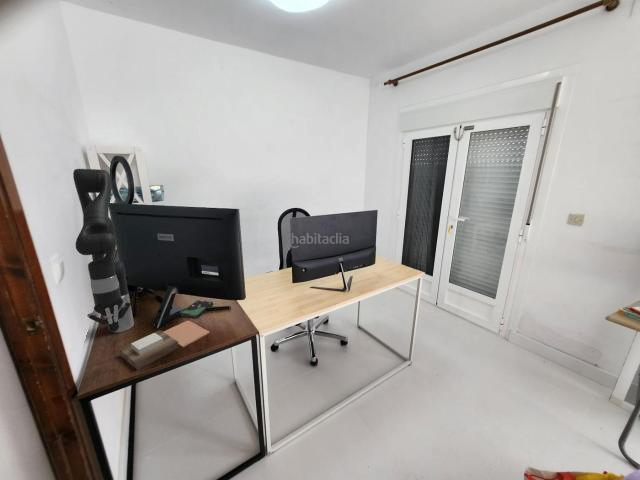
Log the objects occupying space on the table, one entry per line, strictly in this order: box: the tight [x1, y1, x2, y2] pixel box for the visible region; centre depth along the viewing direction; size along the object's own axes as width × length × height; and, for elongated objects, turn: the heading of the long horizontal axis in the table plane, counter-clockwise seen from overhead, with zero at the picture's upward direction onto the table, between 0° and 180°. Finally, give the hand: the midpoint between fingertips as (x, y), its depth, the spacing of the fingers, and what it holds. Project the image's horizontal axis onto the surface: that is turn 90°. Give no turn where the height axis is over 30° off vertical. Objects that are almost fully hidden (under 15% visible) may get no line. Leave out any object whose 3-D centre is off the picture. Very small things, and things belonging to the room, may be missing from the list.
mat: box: [163, 320, 211, 348], centre depth 120 cm, size 18×13×1 cm
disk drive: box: [180, 299, 214, 319], centre depth 141 cm, size 10×3×15 cm
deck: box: [119, 329, 180, 371], centre depth 107 cm, size 15×16×3 cm
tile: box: [130, 332, 163, 355], centre depth 106 cm, size 7×9×2 cm
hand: (114, 330), depth 95 cm, fingers closed
